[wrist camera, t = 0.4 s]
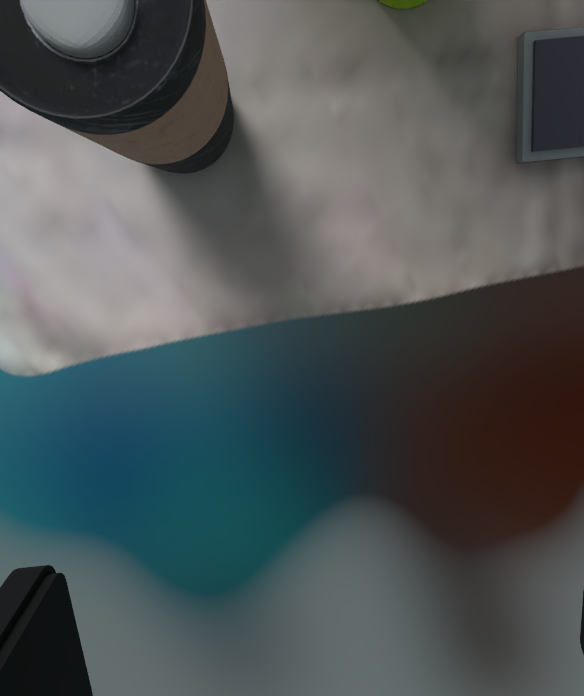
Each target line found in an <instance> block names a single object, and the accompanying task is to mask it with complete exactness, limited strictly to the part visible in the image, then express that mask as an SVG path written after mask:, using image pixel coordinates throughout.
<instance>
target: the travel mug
mask: <svg viewBox="0 0 584 696" xmlns="http://www.w3.org/2000/svg"><path fill="white" fill-rule="evenodd" d="M0 91H1V92H3V93H4V94H5V95H7V96H8V97H9V98H11V99H12V100H13V101H15V102H16V103H18V104H20V105H21V106H23V107H25V108H27V109H28V110H30V111H32V112H34V113H36V114H38V115H40V116H42V117H44V118H46V119H48V120H50V121H52V122H54V123H57V124H59V125H61V126H63V127H65V128H67V129H69V130H71V131H73V132H75V133H77V134H79V135H81V136H83V137H85V138H87V139H89V140H91V141H94V142H96V143H98V144H100V145H102V146H104V147H106V148H108V149H110V150H112V151H114V152H116V153H118V154H120V155H122V156H124V157H127V158H129V159H131V160H134V161H137V162H140V163H143V164H146V165H150V166H153V167H156V168H159V169H162V170H166V171H170V172H175V173H191V172H196V171H199V170H202V169H204V168H206V167H208V166H209V165H211V164H212V163H214V162H215V161H216V160H217V159H218V158H219V157H220V156H221V155H222V153H223V152H224V150H225V149H226V147H227V145H228V143H229V140H230V138H231V134H232V129H233V107H232V101H231V95H230V88H229V82H228V76H227V71H226V66H225V63H224V59H223V56H222V52H221V49H220V46H219V42H218V39H217V36H216V33H215V29H214V26H213V23H212V19H211V16H210V13H209V10H208V6H207V3H206V0H0Z"/></svg>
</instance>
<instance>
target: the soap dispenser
mask: <svg viewBox="0 0 584 696" xmlns="http://www.w3.org/2000/svg"><path fill="white" fill-rule="evenodd" d="M378 1H380V2H381V3H383V4H384V5H387V6H389V7H392V8H397V9H407V8H412V7H416V6H418V5H420V4H422V3H424V2H426V1H427V0H378Z"/></svg>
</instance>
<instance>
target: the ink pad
mask: <svg viewBox="0 0 584 696" xmlns="http://www.w3.org/2000/svg"><path fill="white" fill-rule="evenodd" d="M576 157H584V27H577V28H566V29H555V30H544V31H533V32H524V33H523V34H521V35H520V36H519V37H518V63H517V142H516V163H525V162H535V161H545V160H555V159H566V158H576Z"/></svg>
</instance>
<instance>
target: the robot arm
mask: <svg viewBox="0 0 584 696" xmlns="http://www.w3.org/2000/svg"><path fill="white" fill-rule="evenodd" d="M580 643H581V648H582V651H583V654H584V592H583V607H582V621H581V634H580ZM0 696H93V695H92V689H91V685H90V681H89V676H88V672H87V668H86V664H85V659H84V655H83V651H82V646H81V642H80V638H79V633H78V629H77V625H76V621H75V616H74V612H73V608H72V604H71V599H70V595H69V591H68V586H67V582H66V579H65V576H64V575H63V574H62V573H56V572H55V569H54V568H53V567H52V566H50V565H46V566H37V567H27V568H18V569H15V570H14V571H13V572H12V573H11V574H10V575H9V576H8V578H7V579H6V581H5V582H4V583H3V585H2V586H1V587H0Z"/></svg>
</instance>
